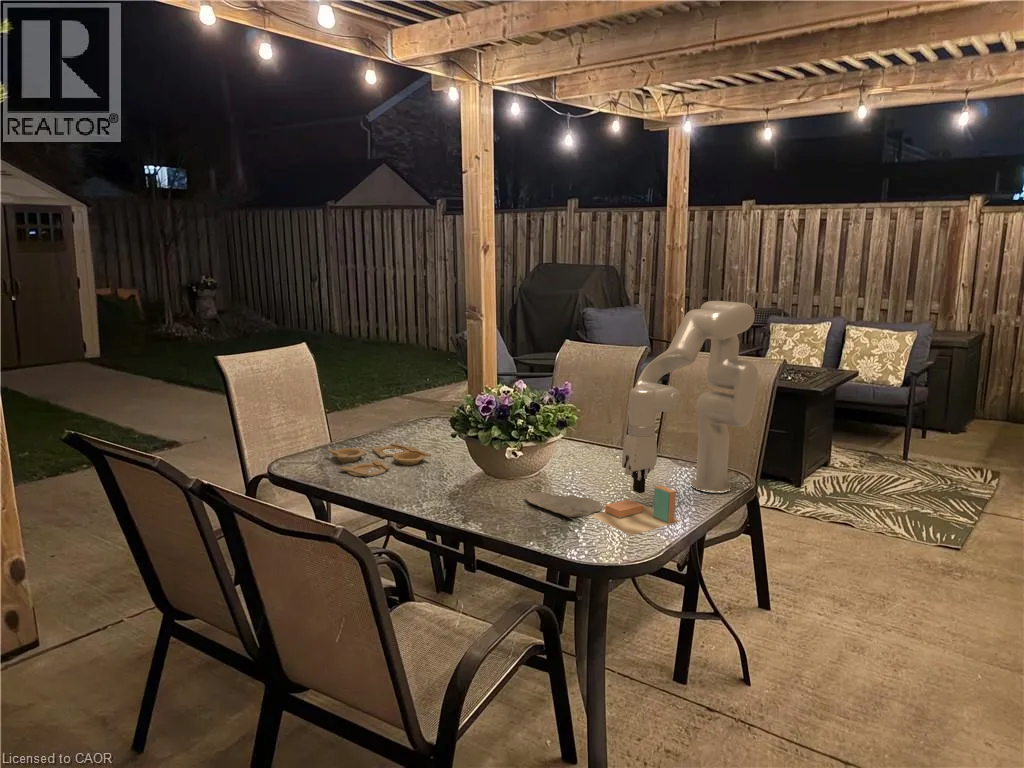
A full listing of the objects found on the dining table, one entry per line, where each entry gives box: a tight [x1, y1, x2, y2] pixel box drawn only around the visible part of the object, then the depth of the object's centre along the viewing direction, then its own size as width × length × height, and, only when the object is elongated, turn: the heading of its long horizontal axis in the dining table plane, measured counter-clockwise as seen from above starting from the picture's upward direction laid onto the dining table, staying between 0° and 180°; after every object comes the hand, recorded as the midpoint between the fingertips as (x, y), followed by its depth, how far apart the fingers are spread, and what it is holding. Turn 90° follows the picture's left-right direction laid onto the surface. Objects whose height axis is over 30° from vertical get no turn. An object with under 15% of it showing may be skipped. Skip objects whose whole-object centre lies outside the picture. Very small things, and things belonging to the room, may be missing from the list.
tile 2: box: [653, 485, 676, 523], centre depth 200 cm, size 2×6×9 cm, turn 34°
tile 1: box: [604, 498, 644, 518], centre depth 206 cm, size 2×6×9 cm
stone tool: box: [524, 491, 605, 518], centre depth 213 cm, size 20×3×25 cm
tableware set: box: [326, 442, 432, 478], centre depth 258 cm, size 35×29×4 cm
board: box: [590, 502, 682, 536], centre depth 202 cm, size 19×17×1 cm
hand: (638, 491), depth 208 cm, fingers closed
